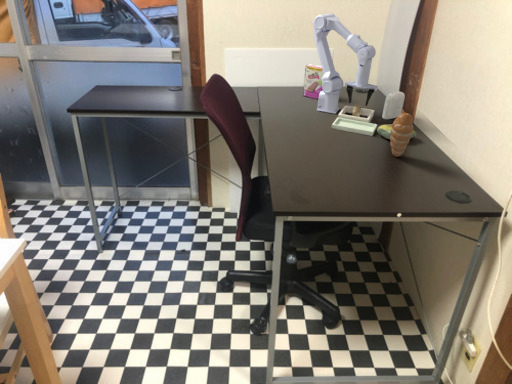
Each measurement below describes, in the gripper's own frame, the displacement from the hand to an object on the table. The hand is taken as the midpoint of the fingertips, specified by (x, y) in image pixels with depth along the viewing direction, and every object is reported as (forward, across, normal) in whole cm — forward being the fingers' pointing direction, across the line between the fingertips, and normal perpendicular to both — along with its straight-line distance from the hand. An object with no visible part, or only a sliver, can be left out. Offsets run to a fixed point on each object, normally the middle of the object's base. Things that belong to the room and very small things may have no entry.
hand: (358, 103), depth 189 cm
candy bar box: (+7, -27, +21) cm, 35 cm away
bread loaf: (+7, 0, 0) cm, 7 cm away
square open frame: (+7, 0, 0) cm, 7 cm away
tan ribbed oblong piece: (+7, +23, -34) cm, 42 cm away
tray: (+7, +2, -13) cm, 15 cm away
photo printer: (+7, +15, +10) cm, 19 cm away
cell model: (+8, +20, -15) cm, 26 cm away
